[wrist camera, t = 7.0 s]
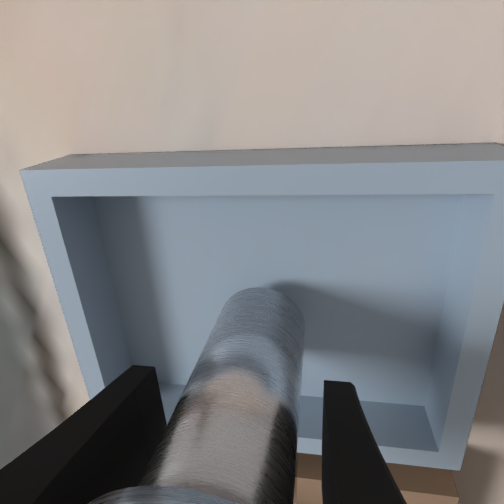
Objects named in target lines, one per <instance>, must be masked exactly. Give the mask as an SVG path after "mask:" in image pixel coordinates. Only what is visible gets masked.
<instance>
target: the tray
mask: <svg viewBox="0 0 504 504" xmlns="http://www.w3.org/2000/svg"><path fill="white" fill-rule="evenodd" d="M19 171H20V175H21V178H22V181H23V184H24V188H25V191H26V194H27V197H28V200H29V204H30V207H31V210H32V213H33V217H34V220H35V223H36V226H37V230H38V233H39V236H40V239H41V242H42V246H43V249H44V252H45V255H46V259H47V262H48V265H49V268H50V272H51V275H52V278H53V281H54V285H55V288H56V291H57V294H58V297H59V301H60V304H61V307H62V310H63V314H64V317H65V320H66V323H67V327H68V330H69V333H70V336H71V340H72V343H73V346H74V349H75V352H76V356H77V359H78V362H79V365H80V369H81V372H82V375H83V378H84V382H85V385H86V388H87V391H88V395H89V398H90V400H91V399H92V398H93V397H94V396H96V395H97V394H98V393H99V392H100V391H102V390H103V389H104V388H105V387H106V386H108V385H109V384H110V383H111V382H112V381H114V380H115V379H116V378H117V377H118V376H120V375H121V374H122V373H123V372H125V371H126V370H127V369H128V368H130V367H131V366H132V365H140V366H153V367H155V369H156V374H157V378H158V383H159V388H160V393H161V398H162V403H163V408H164V413H165V418H166V423H167V424H168V422H169V420H170V418H171V416H172V414H173V411H174V409H175V407H176V405H177V403H178V401H179V399H180V397H181V395H182V392H183V390H184V388H185V386H186V384H187V382H188V380H189V378H190V375H191V373H192V371H193V369H194V367H195V365H196V363H197V361H198V359H199V356H200V354H201V352H202V350H203V348H204V346H205V344H206V342H207V340H208V337H209V335H210V333H211V331H212V329H213V327H214V325H215V323H216V321H217V318H218V316H219V314H220V312H221V310H222V308H223V306H224V304H225V303H226V301H227V300H228V299H229V298H230V297H231V296H233V295H234V294H236V293H237V292H239V291H242V290H244V289H248V288H254V287H262V288H269V289H273V290H276V291H278V292H280V293H282V294H284V295H286V296H287V297H289V298H290V299H291V300H292V301H293V302H294V303H295V304H296V305H297V306H298V308H299V309H300V311H301V313H302V315H303V318H304V322H305V338H304V353H303V368H302V382H301V397H300V412H299V427H298V442H297V452H298V453H307V454H316V455H322V422H323V391H324V380H331V381H344V382H351V383H352V384H353V385H354V386H355V388H356V392H357V395H358V398H359V401H360V404H361V407H362V410H363V412H364V415H365V417H366V420H367V422H368V425H369V427H370V429H371V432H372V434H373V436H374V439H375V441H376V443H377V445H378V448H379V450H380V452H381V454H382V456H383V458H384V460H385V462H387V463H395V464H404V465H413V466H422V467H431V468H440V469H448V470H457V471H460V469H461V465H462V462H463V458H464V454H465V450H466V446H467V442H468V438H469V434H470V431H471V427H472V423H473V419H474V415H475V411H476V407H477V404H478V400H479V396H480V392H481V388H482V384H483V380H484V376H485V373H486V369H487V365H488V361H489V357H490V353H491V349H492V345H493V342H494V338H495V334H496V330H497V326H498V322H499V318H500V315H501V311H502V307H503V303H504V146H503V145H500V144H497V143H469V144H433V145H397V146H361V147H325V148H289V149H253V150H217V151H181V152H145V153H109V154H73V155H67V156H64V157H61V158H58V159H54V160H51V161H48V162H44V163H41V164H38V165H35V166H31V167H28V168H25V169H21V170H19Z"/></svg>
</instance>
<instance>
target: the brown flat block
mask: <svg viewBox="0 0 504 504" xmlns="http://www.w3.org/2000/svg"><path fill="white" fill-rule="evenodd" d="M386 464H387V466H388V468H389V470H390V472H391V474H392V476H393V478H394V480H395V482H396V484H397V486H398V488H399V490H400V492H401V494H402V496H403V497H404V499H405V501H406V503H407V504H458V501H459V495H458V492H457V489H456V486H455V483H454V480H453V477H452V474H451V471H450V470H448V469H440V468H431V467H422V466H413V465H404V464H395V463H387V462H386ZM293 503H296V504H323V500H322V455H316V454H307V453H298V452H297V457H296V471H295V486H294V501H293Z"/></svg>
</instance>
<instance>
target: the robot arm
mask: <svg viewBox="0 0 504 504" xmlns="http://www.w3.org/2000/svg"><path fill="white" fill-rule="evenodd" d="M166 426H167V423H166V418H165V413H164V408H163V403H162V398H161V393H160V388H159V383H158V378H157V374H156V369H155V367H153V366H140V365H132V366H131V367H130V368H128V369H127V370H126V371H125V372H123V373H122V374H121V375H120V376H118V377H117V378H116V379H115V380H114V381H112V382H111V383H110V384H109V385H108V386H106V387H105V388H104V389H103V390H102V391H100V392H99V393H98V394H97V395H96V396H94V397H93V398H92V399H91V400H90V401H88V402H87V403H86V404H85V405H84V406H82V407H81V408H80V409H79V410H77V411H76V412H75V413H74V414H73V415H71V416H70V417H69V418H68V419H66V420H65V421H64V422H63V423H61V424H60V425H59V426H58V427H56V428H55V429H54V430H53V431H51V432H50V433H49V434H47V435H46V436H45V437H43V438H42V439H41V440H39V441H38V442H37V443H35V444H34V445H33V446H31V447H30V448H29V449H28V450H26V451H25V452H24V453H22V454H21V455H20V456H18V457H17V458H16V459H14V460H13V461H12V462H10V463H9V464H8V465H6V466H5V467H3V468H2V469H1V470H0V504H88V503H90V502H91V501H93V500H95V499H96V498H98V497H100V496H102V495H105V494H107V493H109V492H112V491H116V490H120V489H124V488H130V487H138V485H139V483H140V481H141V479H142V477H143V475H144V473H145V471H146V468H147V466H148V464H149V462H150V460H151V458H152V456H153V454H154V452H155V449H156V447H157V445H158V443H159V441H160V439H161V437H162V435H163V433H164V430H165V428H166ZM322 500H323V504H407V503H406V501H405V499H404V497H403V496H402V494H401V492H400V490H399V488H398V486H397V484H396V482H395V480H394V478H393V476H392V474H391V472H390V470H389V468H388V466H387V464H386V462H385V460H384V458H383V456H382V454H381V452H380V450H379V448H378V445H377V443H376V441H375V439H374V436H373V434H372V432H371V429H370V427H369V425H368V422H367V420H366V417H365V415H364V412H363V410H362V407H361V404H360V401H359V398H358V395H357V392H356V388H355V386H354V385H353V384H352V383H351V382H344V381H331V380H324V391H323V422H322Z"/></svg>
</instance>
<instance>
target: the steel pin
mask: <svg viewBox="0 0 504 504" xmlns="http://www.w3.org/2000/svg"><path fill="white" fill-rule="evenodd" d="M304 338H305V322H304V318H303V315H302V313H301V311H300V309H299V308H298V306H297V305H296V304H295V303H294V302H293V301H292V300H291V299H290V298H289V297H287V296H286V295H284V294H282V293H280V292H278V291H276V290H273V289H269V288H262V287H254V288H248V289H244V290H242V291H239V292H237V293H236V294H234V295H233V296H231V297H230V298H229V299H228V300H227V301H226V303H225V304H224V306H223V308H222V310H221V312H220V314H219V316H218V318H217V321H216V323H215V325H214V327H213V329H212V331H211V333H210V335H209V337H208V340H207V342H206V344H205V346H204V348H203V350H202V352H201V354H200V356H199V359H198V361H197V363H196V365H195V367H194V369H193V371H192V373H191V375H190V378H189V380H188V382H187V384H186V386H185V388H184V390H183V392H182V395H181V397H180V399H179V401H178V403H177V405H176V407H175V409H174V411H173V414H172V416H171V418H170V420H169V422H168V424H167V426H166V428H165V430H164V433H163V435H162V437H161V439H160V441H159V443H158V445H157V447H156V449H155V452H154V454H153V456H152V458H151V460H150V462H149V464H148V466H147V468H146V471H145V473H144V475H143V477H142V479H141V481H140V483H139V485H138V487H130V488H124V489H120V490H116V491H112V492H109V493H107V494H105V495H102V496H100V497H98V498H96V499H95V500H93V501H91V502H90V503H88V504H293V501H294V486H295V471H296V457H297V442H298V427H299V412H300V397H301V382H302V368H303V353H304Z"/></svg>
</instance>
